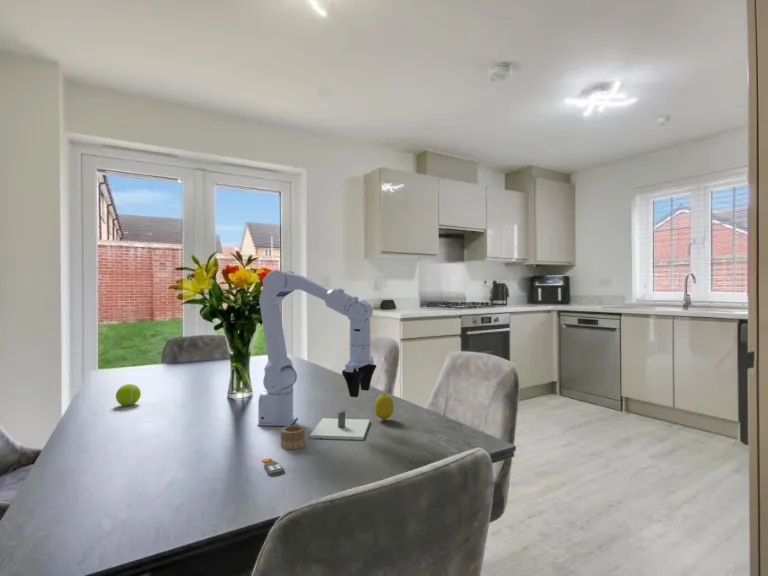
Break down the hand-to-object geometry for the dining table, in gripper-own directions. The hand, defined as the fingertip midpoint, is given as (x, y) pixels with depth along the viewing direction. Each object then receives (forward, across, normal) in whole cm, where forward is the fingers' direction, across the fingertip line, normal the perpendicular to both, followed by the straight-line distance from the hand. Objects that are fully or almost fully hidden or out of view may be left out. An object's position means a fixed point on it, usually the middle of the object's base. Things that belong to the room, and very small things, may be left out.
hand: (359, 393), depth 116 cm
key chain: (+11, -28, +10) cm, 31 cm away
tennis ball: (+10, -6, +81) cm, 82 cm away
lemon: (+10, +9, -4) cm, 14 cm away
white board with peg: (+10, -3, +4) cm, 11 cm away
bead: (+10, -17, +11) cm, 22 cm away
